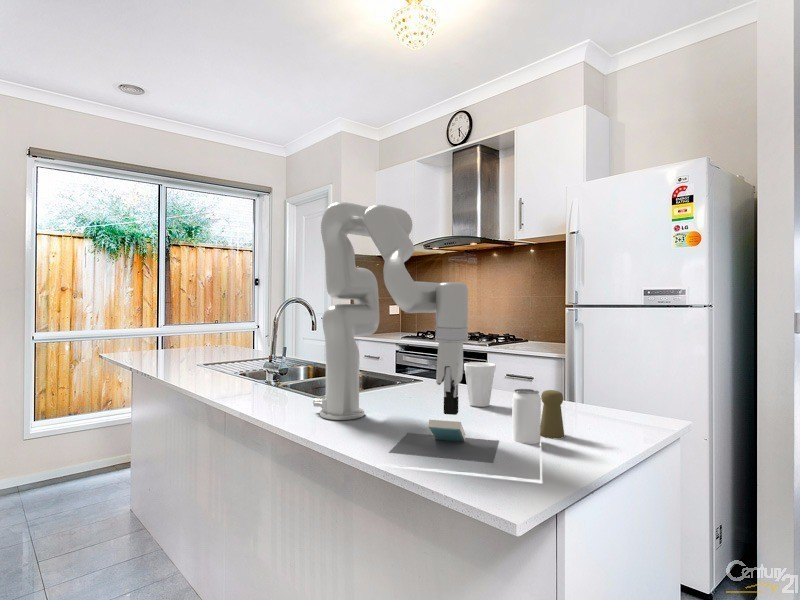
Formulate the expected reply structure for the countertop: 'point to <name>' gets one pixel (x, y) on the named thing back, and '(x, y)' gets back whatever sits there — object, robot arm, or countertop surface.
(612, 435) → the countertop surface
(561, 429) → the cork
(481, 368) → the cup
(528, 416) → the can
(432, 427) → the tile
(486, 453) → the mat
